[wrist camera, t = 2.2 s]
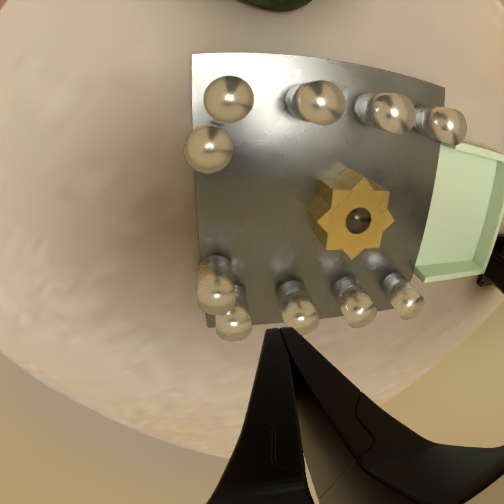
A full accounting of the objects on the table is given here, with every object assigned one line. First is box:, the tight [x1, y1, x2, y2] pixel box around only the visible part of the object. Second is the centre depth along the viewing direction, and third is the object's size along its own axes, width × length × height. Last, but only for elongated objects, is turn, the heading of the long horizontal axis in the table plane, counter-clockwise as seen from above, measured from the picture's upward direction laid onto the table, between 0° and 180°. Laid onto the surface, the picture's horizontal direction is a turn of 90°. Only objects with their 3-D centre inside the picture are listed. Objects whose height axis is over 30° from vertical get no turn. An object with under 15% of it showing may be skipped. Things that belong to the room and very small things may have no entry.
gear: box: [306, 168, 395, 260], centre depth 19 cm, size 6×6×2 cm
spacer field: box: [184, 53, 467, 341], centre depth 19 cm, size 18×20×4 cm
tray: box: [413, 141, 504, 283], centre depth 21 cm, size 9×12×2 cm
